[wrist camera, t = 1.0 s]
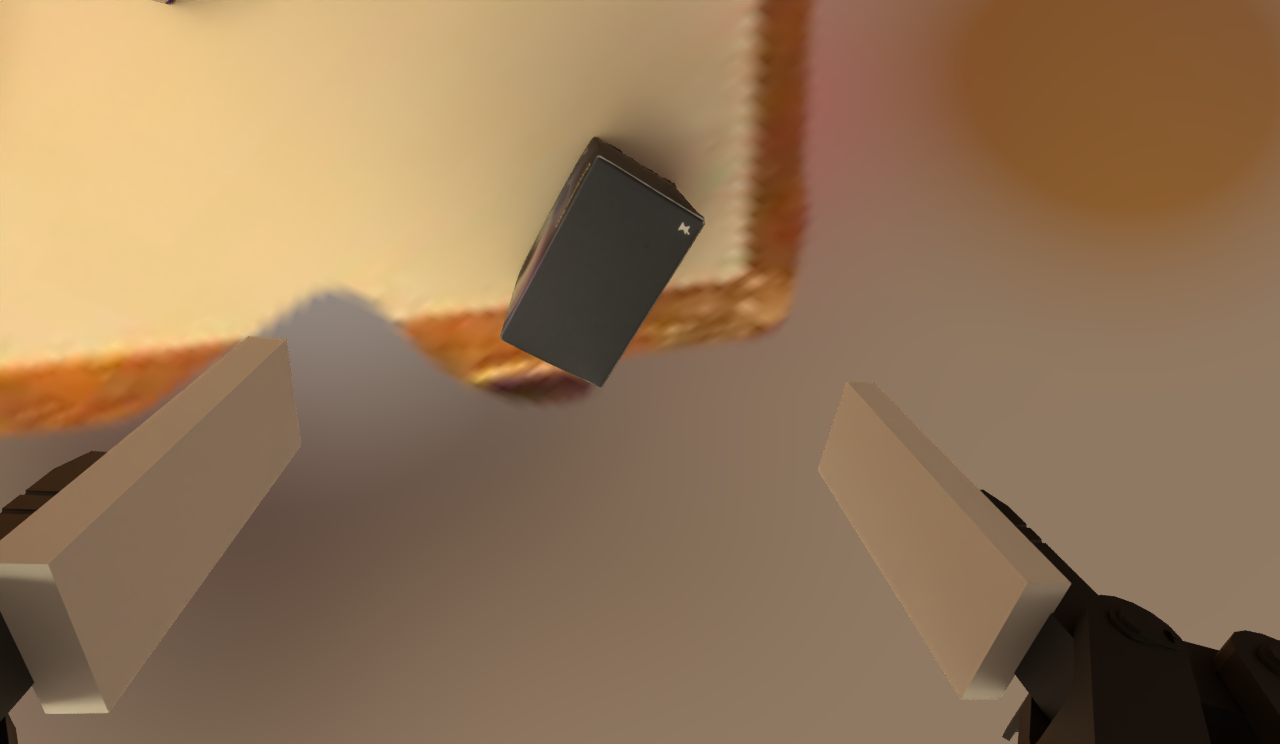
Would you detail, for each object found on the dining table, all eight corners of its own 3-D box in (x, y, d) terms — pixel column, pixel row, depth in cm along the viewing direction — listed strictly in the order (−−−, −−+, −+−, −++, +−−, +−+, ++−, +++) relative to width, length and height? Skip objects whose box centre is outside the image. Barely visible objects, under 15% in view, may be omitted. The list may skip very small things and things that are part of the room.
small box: (588, 129, 35) (595, 145, 26) (678, 185, 37) (715, 219, 28) (511, 278, 39) (492, 340, 30) (597, 322, 41) (605, 393, 32)
